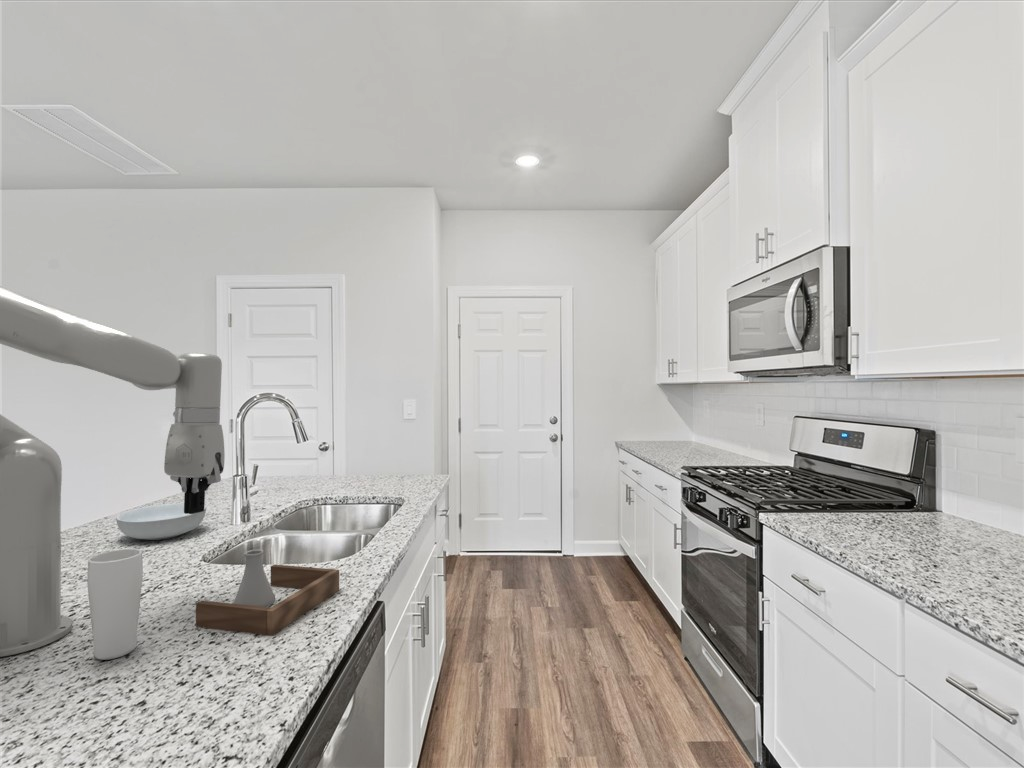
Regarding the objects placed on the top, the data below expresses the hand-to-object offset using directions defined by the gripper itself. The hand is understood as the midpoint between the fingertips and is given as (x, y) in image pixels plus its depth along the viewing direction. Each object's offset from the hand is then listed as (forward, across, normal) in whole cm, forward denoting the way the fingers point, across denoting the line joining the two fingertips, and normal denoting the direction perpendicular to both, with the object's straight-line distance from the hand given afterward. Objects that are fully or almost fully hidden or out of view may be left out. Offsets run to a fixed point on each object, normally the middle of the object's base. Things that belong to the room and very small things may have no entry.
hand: (194, 512), depth 100 cm
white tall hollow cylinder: (+18, +5, -19) cm, 26 cm away
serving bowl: (+17, -45, +36) cm, 60 cm away
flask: (+17, +13, +1) cm, 22 cm away
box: (+16, +17, +1) cm, 24 cm away
